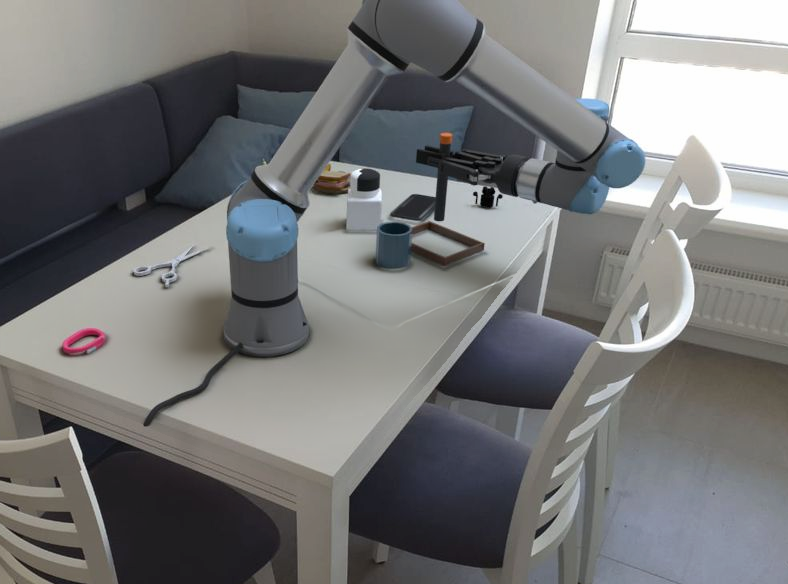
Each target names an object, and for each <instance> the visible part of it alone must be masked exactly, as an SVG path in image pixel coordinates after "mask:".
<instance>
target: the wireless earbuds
mask: <svg viewBox="0 0 788 584" xmlns="http://www.w3.org/2000/svg"><path fill="white" fill-rule="evenodd" d="M481 193H482V194H480V201H479V205H480V207H482V208H490V209H491V208H493V207H494V205H495V207H498V206H499V200H501V199H503V196H504V194H502V193H498V195H497V196H496V199H495V194H496V189H495V187H493V186H491V187H487V186H485V185H484V186H483V187H482V190H481ZM478 194H479V193H478V191H473V192H472V196H473V197H475V201H474V204H475V205H478V199H479V195H478ZM494 202H495V204H494Z"/></svg>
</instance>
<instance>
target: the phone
mask: <svg viewBox="0 0 788 584" xmlns="http://www.w3.org/2000/svg"><path fill="white" fill-rule="evenodd" d="M435 198H436V196H431V195H425V194H420V193H412V194H410V195H409V196H408V197H407V198H405V199H404V201H402V202H401V203H400V204H399V205H398V206H397V207H395V208H394V209H393V210H392V211H390V216H391V217H393V218H398V219H406V220H410V221H414V222H415V221H416V222H422V223H424V222H425V220H426V219H427V218H428V217H430V215H431V214H432V213H433V212H434V210H435Z"/></svg>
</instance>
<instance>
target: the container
mask: <svg viewBox="0 0 788 584" xmlns="http://www.w3.org/2000/svg"><path fill="white" fill-rule="evenodd" d="M350 174H351V183H350V189H348V192H347V198H346V225H345V227H346V230H347V231H377V226H379V225H380V224H382V206H383V190H382V189H381V188H380V185H381V173H380V172H379V171H377V170H376V169H373V168H365V167H364V168H358V169H355V170H353V171H352V172H351V173H350Z"/></svg>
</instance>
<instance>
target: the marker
mask: <svg viewBox="0 0 788 584" xmlns="http://www.w3.org/2000/svg"><path fill="white" fill-rule="evenodd" d="M452 143H453V133H451V132H441V133H440V134H439V148H440V149H439V153H440V154H443V153H447V156H446V157H448V158H450V151H452ZM448 181H449V176H446V175H443V174H440V173H439V168H437V176H436V187H435V189H436V190H435V197H436V198H435V210H434V211H433V212H434V213H433V221H435V222H444V221H445V215H446V204H447V195H448V183H449V182H448Z"/></svg>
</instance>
